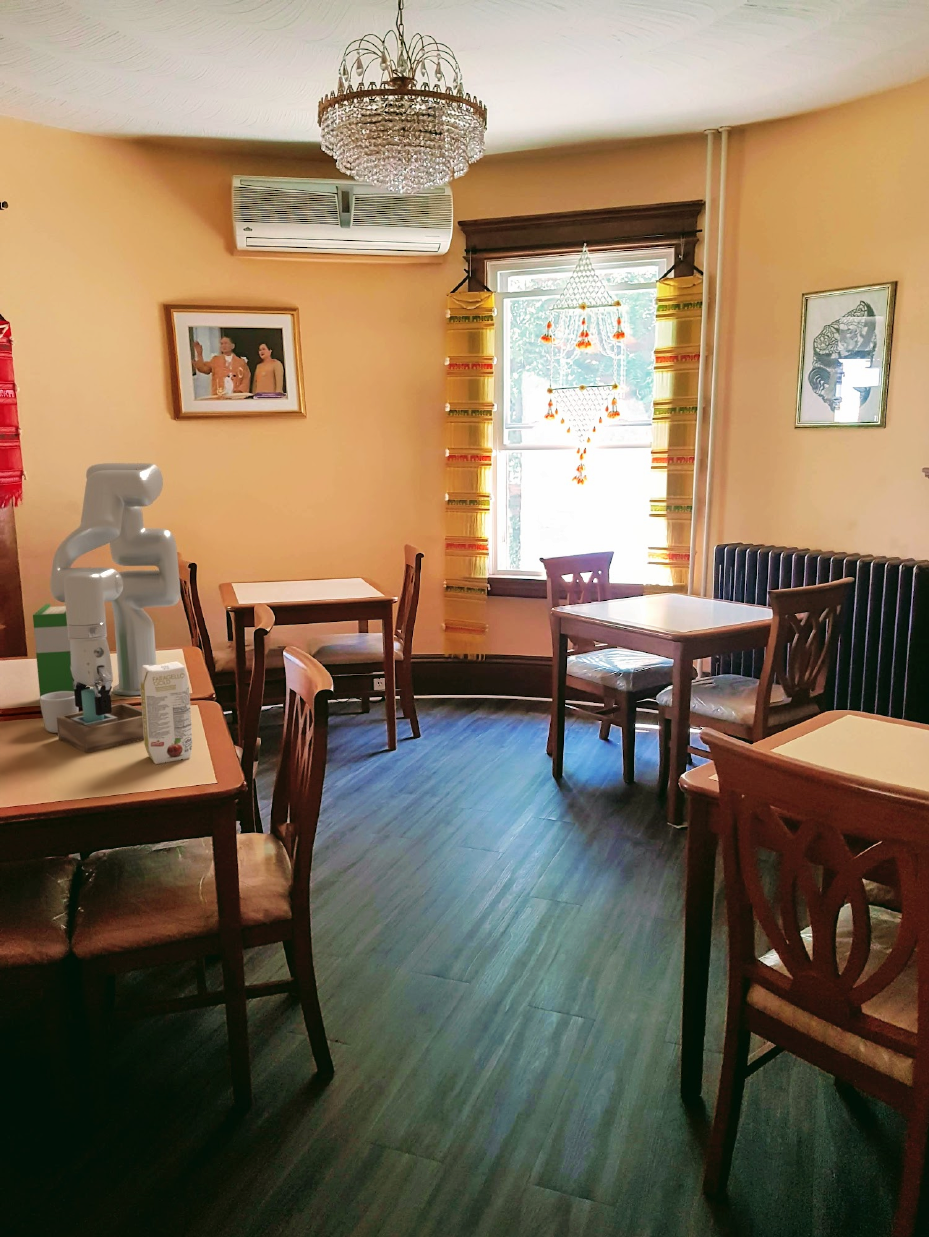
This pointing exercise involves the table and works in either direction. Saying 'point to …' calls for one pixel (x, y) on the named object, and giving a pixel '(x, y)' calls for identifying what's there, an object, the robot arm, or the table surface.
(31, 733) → the table surface
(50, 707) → the cup
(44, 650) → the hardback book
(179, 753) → the juice carton
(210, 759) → the table surface
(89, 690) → the plug
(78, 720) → the socket
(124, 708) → the box
